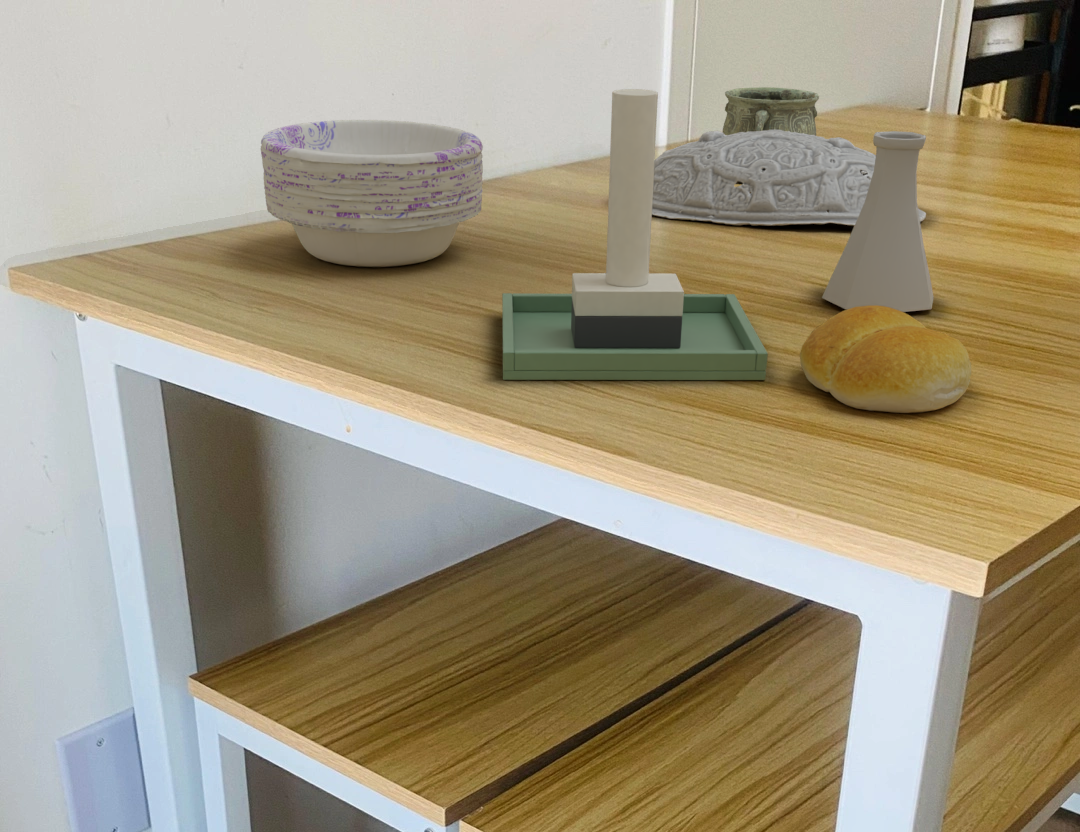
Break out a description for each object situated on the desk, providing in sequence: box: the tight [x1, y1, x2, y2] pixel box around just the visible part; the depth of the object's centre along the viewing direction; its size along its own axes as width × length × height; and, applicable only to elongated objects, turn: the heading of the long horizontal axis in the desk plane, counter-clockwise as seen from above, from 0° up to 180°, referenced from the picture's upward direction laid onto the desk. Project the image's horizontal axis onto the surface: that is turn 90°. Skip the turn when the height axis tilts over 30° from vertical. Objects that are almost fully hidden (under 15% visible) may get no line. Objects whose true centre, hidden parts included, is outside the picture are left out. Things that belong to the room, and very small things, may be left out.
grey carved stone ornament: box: [652, 130, 927, 227], centre depth 111 cm, size 16×25×7 cm, turn 73°
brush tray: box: [501, 292, 769, 381], centre depth 79 cm, size 14×12×2 cm
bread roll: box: [799, 305, 972, 414], centre depth 72 cm, size 8×9×4 cm
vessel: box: [722, 86, 820, 136], centre depth 128 cm, size 12×9×6 cm
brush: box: [571, 88, 685, 348], centre depth 75 cm, size 6×4×13 cm, turn 92°
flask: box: [821, 130, 934, 313], centre depth 85 cm, size 7×7×10 cm
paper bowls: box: [260, 119, 484, 268], centre depth 96 cm, size 15×15×8 cm
